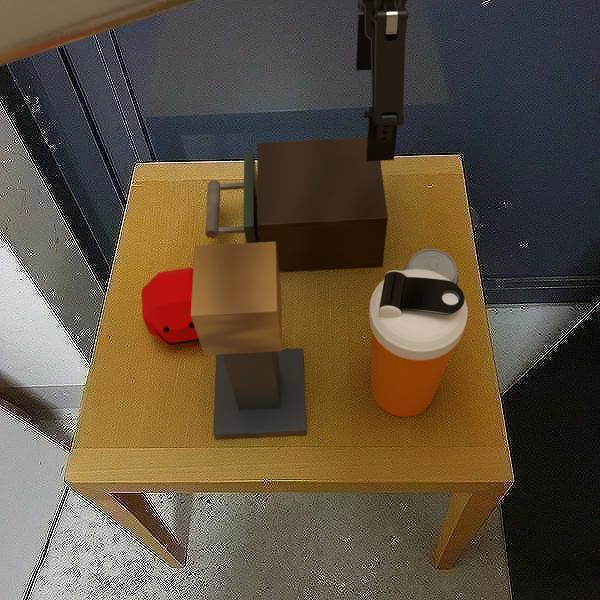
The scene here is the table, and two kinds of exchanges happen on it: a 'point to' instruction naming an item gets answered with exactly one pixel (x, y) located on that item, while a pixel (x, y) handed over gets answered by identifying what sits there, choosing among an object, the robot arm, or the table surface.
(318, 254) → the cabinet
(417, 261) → the beverage can
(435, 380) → the shaker bottle
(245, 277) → the oak block
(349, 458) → the table surface
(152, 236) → the table surface
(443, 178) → the table surface
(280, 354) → the stand
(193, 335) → the red faceted polyhedron
